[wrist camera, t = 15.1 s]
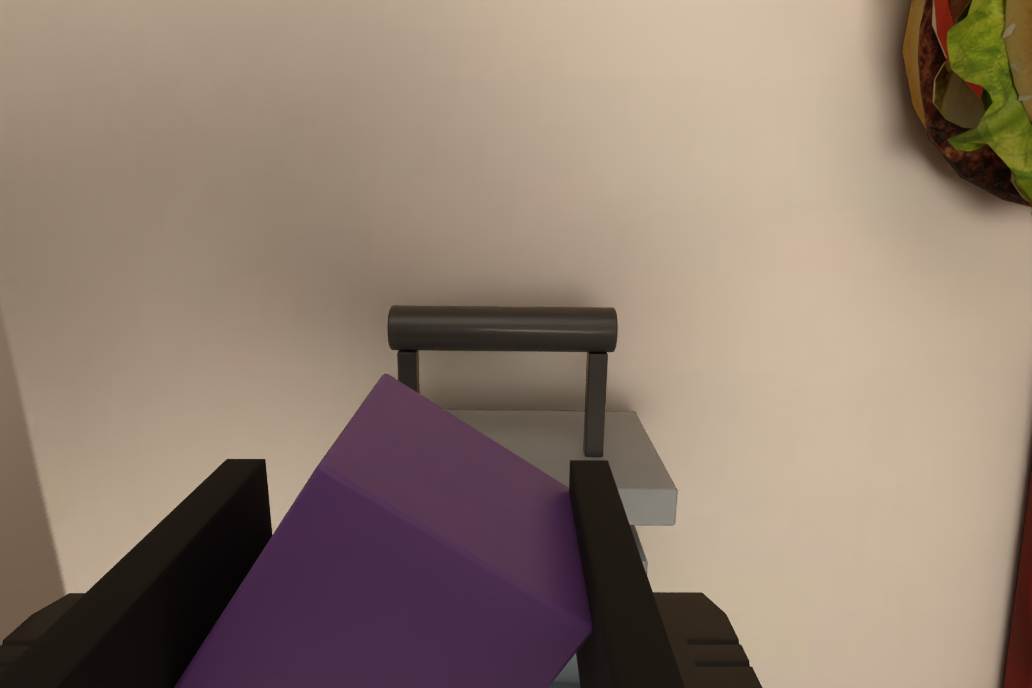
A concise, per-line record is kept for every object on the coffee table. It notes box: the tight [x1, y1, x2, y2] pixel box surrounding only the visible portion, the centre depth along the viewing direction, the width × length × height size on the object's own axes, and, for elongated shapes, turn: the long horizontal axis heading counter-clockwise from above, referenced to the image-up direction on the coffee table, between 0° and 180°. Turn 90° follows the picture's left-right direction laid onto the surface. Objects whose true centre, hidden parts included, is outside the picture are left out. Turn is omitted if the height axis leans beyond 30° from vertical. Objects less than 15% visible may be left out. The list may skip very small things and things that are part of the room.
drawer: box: [388, 305, 678, 688], centre depth 23 cm, size 17×10×7 cm, turn 179°
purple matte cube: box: [174, 374, 593, 688], centre depth 11 cm, size 4×4×4 cm
